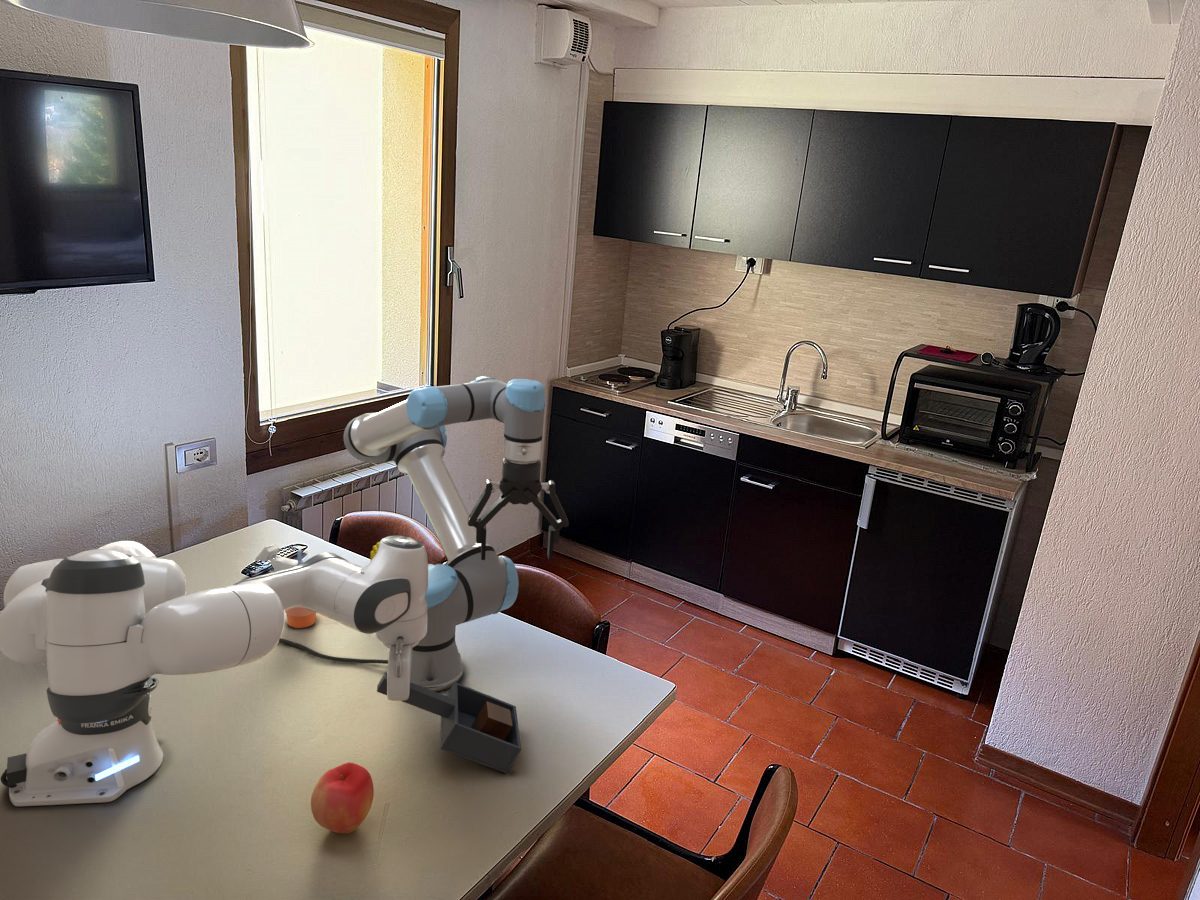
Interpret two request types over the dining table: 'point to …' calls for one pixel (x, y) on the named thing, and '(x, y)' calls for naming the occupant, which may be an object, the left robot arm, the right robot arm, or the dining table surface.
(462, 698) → the scoop
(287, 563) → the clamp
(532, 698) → the dining table surface
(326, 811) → the apple
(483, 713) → the walnut block
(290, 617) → the cup with straw
